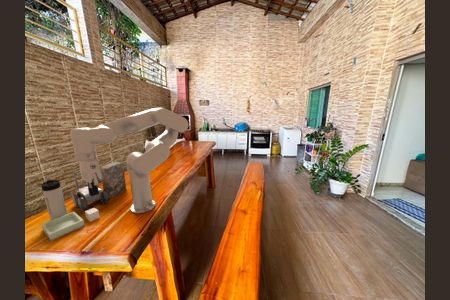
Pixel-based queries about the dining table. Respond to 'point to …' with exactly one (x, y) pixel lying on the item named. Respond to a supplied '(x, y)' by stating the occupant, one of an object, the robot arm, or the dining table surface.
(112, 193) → the stone block
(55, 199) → the travel mug
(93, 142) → the robot arm
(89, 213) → the white block
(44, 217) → the dining table surface
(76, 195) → the trolley
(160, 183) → the dining table surface
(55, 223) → the tray
